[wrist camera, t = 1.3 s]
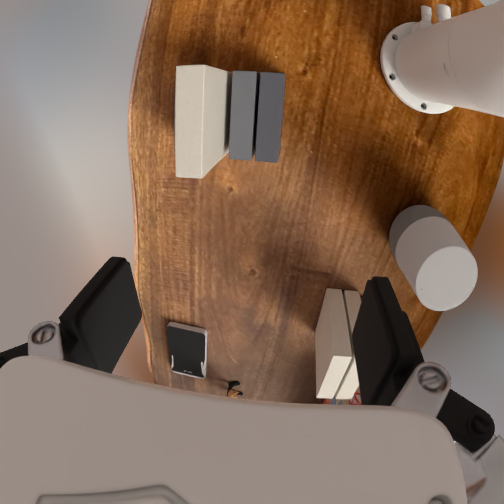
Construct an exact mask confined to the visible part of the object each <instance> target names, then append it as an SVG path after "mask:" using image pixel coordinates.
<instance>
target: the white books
mask: <svg viewBox="0 0 504 504" xmlns="http://www.w3.org/2000/svg"><path fill="white" fill-rule="evenodd" d="M362 298H363V297H360V294H359V291H350V290H344V293H343V294H342V290H341V289H331V288H327V289H326V293H325V297H324V301H323V305H322V309H321V312H320V316H319V320H318V324H317V327H316V331H315V346H316V398H328V399H333V397H334V395H335V399H351V398H352V397H353V395H354V393H355V391H356V390H357V388H358V386H359V381H358V374H357V368H356V361H355V355H354V349H353V343H352V332H353V329H354V325H355V322H356V319H357V315H358V312H359V309H360V305H361V301H362Z"/></svg>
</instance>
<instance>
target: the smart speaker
mask: <svg viewBox="0 0 504 504" xmlns="http://www.w3.org/2000/svg"><path fill="white" fill-rule="evenodd" d="M389 243H390V249H391V252H392V255H393V257H394V259H395V261H396V262H397V264H398V266H399V268H400V269H401V271H402V272H403V274H404V276H405V277H406V279H407V280H408V282H409V284H410V285H411V287H412V289H413V290H414V292H415V294H416V295H417V297H418V298H419V300H420V301H421V303H422V304H423V305H424V306H426V307H427V308H429V309H432V310H435V311H445V310H449V309H452V308H454V307H456V306H458V305H460V304H461V303H462V302H463V301H465V300H466V299H467V298H468V296H469V295H470V294H471V292H472V290H473V289H474V286H475V284H476V280H477V264H476V261H475V259H474V257H473V255H472V254H471V252H470V251H469V249H468V247H467V246H466V244H465V243H464V241H463V240H462V239H461V237H460V236H459V234H458V233H457V231H456V230H455V228H454V227H453V226H452V224H451V223H450V222H449V221H448V220H447V218H446V217H445V216H444V215H443V214H442V213H440V212H439V211H438V210H436V209H434V208H432V207H430V206H426V205H415V206H411V207H408V208H406V209H405V210H403V211H402V212H401V213H399V214H398V216H397V217H396V218H395V220H394V221H393V223H392V226H391V229H390V233H389Z"/></svg>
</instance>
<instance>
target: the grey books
mask: <svg viewBox="0 0 504 504" xmlns="http://www.w3.org/2000/svg"><path fill="white" fill-rule="evenodd" d="M285 84H286V76H285V74H284V73H273V72H260V73H258V72H256V71H233V76H232V95H231V115H230V138H229V159H238V160H250V161H251V160H252V158H253V156H254V155H255V161H262V162H273V163H278V159H279V154H280V146H281V134H282V122H283V110H284V97H285ZM175 90H176V74H175Z"/></svg>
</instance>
